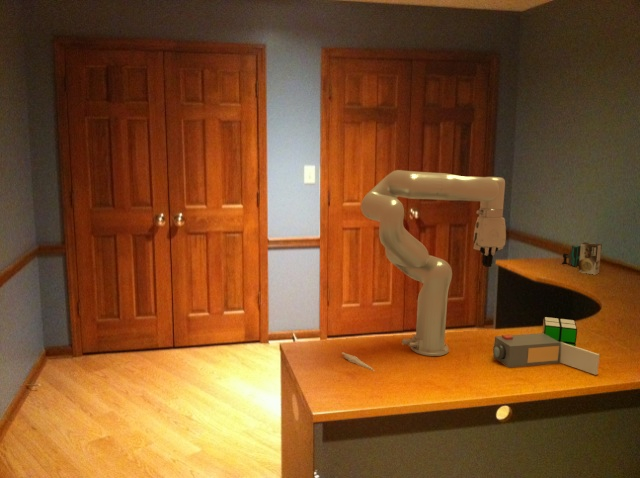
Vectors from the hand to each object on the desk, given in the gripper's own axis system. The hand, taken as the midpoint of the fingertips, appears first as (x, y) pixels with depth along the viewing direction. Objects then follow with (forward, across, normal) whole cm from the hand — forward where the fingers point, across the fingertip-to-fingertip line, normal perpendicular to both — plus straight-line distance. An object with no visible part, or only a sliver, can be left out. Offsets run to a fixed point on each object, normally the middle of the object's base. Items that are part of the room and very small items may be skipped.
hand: (486, 266), depth 198 cm
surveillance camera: (+27, +116, +106) cm, 159 cm away
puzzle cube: (+27, +21, -14) cm, 37 cm away
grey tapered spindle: (+28, -49, -12) cm, 58 cm away
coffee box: (+27, +113, +86) cm, 145 cm away
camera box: (+27, +5, -19) cm, 34 cm away
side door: (+27, +18, -28) cm, 43 cm away
